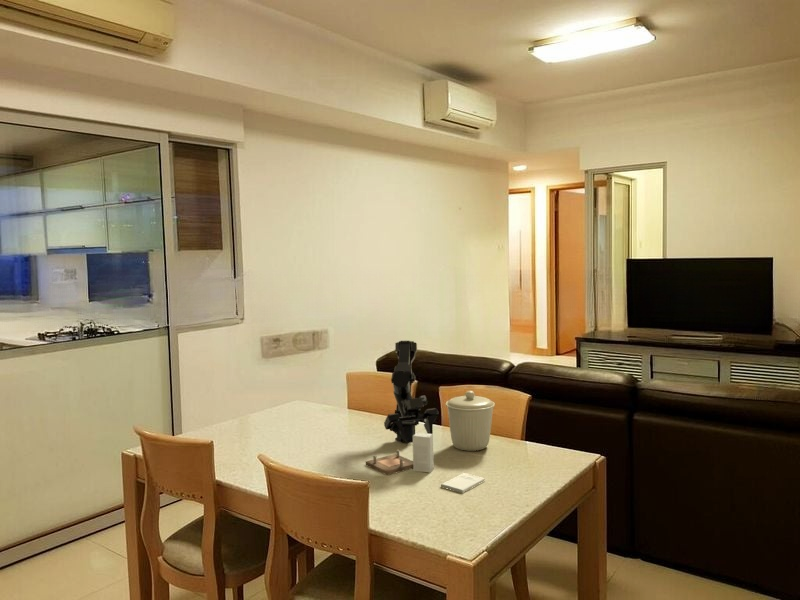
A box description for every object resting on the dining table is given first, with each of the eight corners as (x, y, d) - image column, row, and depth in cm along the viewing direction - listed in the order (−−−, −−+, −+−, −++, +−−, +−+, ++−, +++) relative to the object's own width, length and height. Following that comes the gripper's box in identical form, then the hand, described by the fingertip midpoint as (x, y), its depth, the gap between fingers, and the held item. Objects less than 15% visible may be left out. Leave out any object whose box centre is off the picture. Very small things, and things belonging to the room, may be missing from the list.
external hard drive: (440, 488, 188) (463, 476, 197) (462, 495, 183) (485, 482, 192) (440, 483, 188) (463, 472, 197) (462, 489, 182) (485, 477, 192)
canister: (458, 457, 215) (457, 398, 213) (438, 442, 232) (437, 388, 230) (503, 451, 221) (503, 393, 219) (481, 437, 238) (481, 384, 236)
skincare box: (433, 468, 204) (433, 433, 203) (430, 473, 200) (429, 437, 199) (416, 466, 206) (416, 432, 205) (412, 471, 202) (412, 435, 201)
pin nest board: (395, 457, 216) (395, 446, 216) (417, 466, 206) (417, 455, 206) (365, 464, 209) (365, 454, 208) (387, 475, 199) (387, 464, 198)
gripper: (386, 391, 204) (401, 431, 195) (436, 385, 212) (452, 424, 203) (378, 409, 212) (391, 449, 202) (426, 402, 219) (441, 441, 210)
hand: (419, 440), depth 204 cm, fingers open, 9 cm apart
